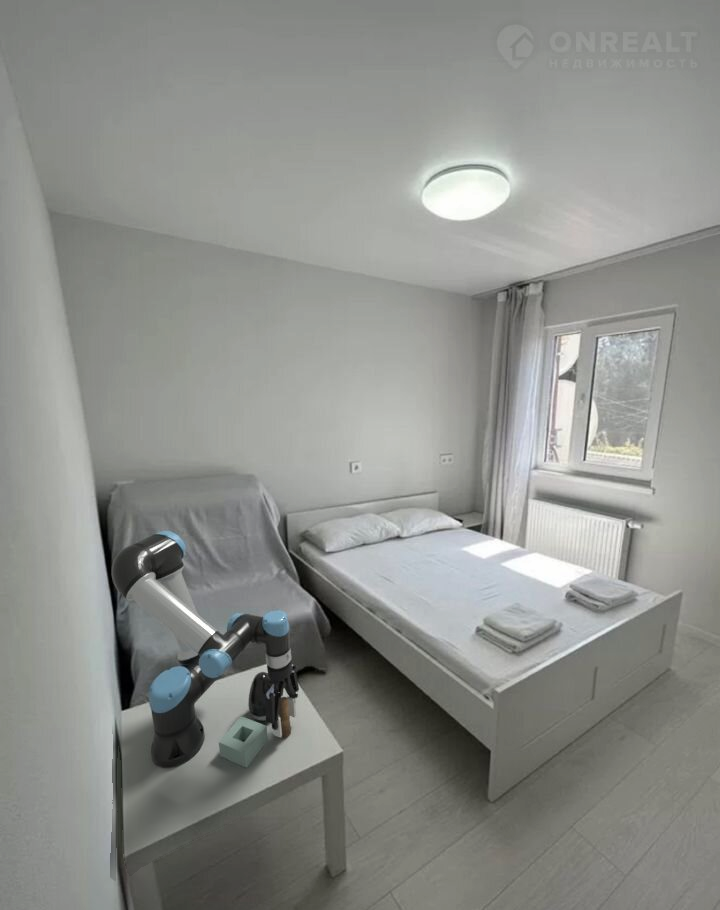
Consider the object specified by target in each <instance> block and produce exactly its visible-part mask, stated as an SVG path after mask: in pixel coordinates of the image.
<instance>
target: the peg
mask: <svg viewBox="0 0 720 910" xmlns="http://www.w3.org/2000/svg"><path fill="white" fill-rule="evenodd" d="M279 717H280V719H281V729H282V737H281V738H282V739H283V738H285V739H286V738H289V737H290V736H291V734H292V730H291V729H292V728H291V720H290V719H291V718H290V717H291V716H289V705H288V698H287V696H281V702H280V710H279Z"/></svg>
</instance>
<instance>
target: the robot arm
mask: <svg viewBox="0 0 720 910" xmlns="http://www.w3.org/2000/svg"><path fill="white" fill-rule="evenodd" d="M186 547H187V546H186V544H185V542H184V541H183V539H182V538H181V537H180V536H179V535H178V534H176V533H174V532H172V531H169V530H162V531H159V532H157V533H153V534H151V535H149V536H147V537H145V538H142V539H141V540H139V541H137V542H135V543H132V544H131V545H128V546H126V547H124V548H123V549H121V550H120V551H119V552H118V553H117V555H116V556H115V558H114V560H113V562H112V565H111V578H112V582H113V584H114V586H115V589H116V590H117V592H118V593H119V594H120V595H121V596H122V597H123V598H125V599H126V600H127V601H129V602H131V601H132V602H133V601H134V602H136V604H138V605H139V606H140V607H141V608H142V609H144V610H145V611H146V612H147V613H149V615H151V616H152V617H153V618H154V619H155V620H157V621H158V622H159V623H161V624H162V626H163V627H165V628H166V629H167V630H169V631H170V632H171V633H172V634H173V636H174V638H175V642H176V643H177V646H178V648H179V653H178V654H177V660H178V663H179V666H173V667H171V668H170V669H166V670H164V671H162V672H161V673H159V675H157V677H155V679H154V680H153V681H152V683H151V685H150V687H149V691H148V697H149V698H148V699H149V700H148V702H149V703H148V704H149V707H150V710H151V717H152V722H153V729H154V732H153V733H154V734H153V740H152V742H151V747H150V753H151V759H152V762H153V763H154V764H155V765H156V766H157V767H160V768H164V769H167V768H168V769H169V768H170V769H171V768H174V767H178V766H181V765H182V764H185V763H186V762H188V761H189V760H190V759H192V758H193V757H194V756H195V755H197V754H198V752H199V751H201V750H200V749H201V748H202V746H203V745H204V742H205V736H206V735H205V728H204V725H203V723H202V722H201V720H200V719H199V717H198V716H197V714H196V707H195V704H196V702H198V701H199V699H200V698H201V697H202V696H203V695H204V694H205V693H206V692H207V691H208V690H209V689H210V688H211V686H212V685H214V683H215V682H216V681H218V680H219V678H220V677H221V676H222V674H224V672H226V671H227V670H228V669H229V668H231V666H232V664H233V663H234V662H235V660H237V659H238V658H239V656H240V655H241V654H242V653H243V652H244V651H245V650H246V649H247V648H248V647H249V645H250V644H252V643H254V644H258V645H264V649H265V659H266V660H265V662H266V669H267V673H268V676H269V678H270V680H271V684H270V687H271V688H270V689H269V691H265V693H264V695H265V698H266V720H265V722H267V723H269V724H271V729H272V733H273V734H272V735H273V736H276V737H278V738H283V737H282V729H281V719H280V717H279V710H280V702H281V697H284V696H283V695H284V691H285V692H286V694H287V696H286V697H287V698H288V705H289V716H290V717H293V718H296V717H297V712H296V711H297V710H296V699H298V697H299V694H298V693H299V690H300V687H299V686H300V685H299V682H298V681H299V680H298V676H297V665H296V664H293V660H292V650H291V641H290V640H291V637H290V623H289V618H288V614H286V613H285V612H284V611H283V610H271V611H269V612H267V613H265V614H264V615H263V616H260V615H254V614H250V613H241V612H238V613H237V612H236V613H234V614H233V615H232V616H231V617H230V619H229V620H228V622H227V625H226V632H225V633H224V634H222V633H221V632H220V631H218V630H217V629H216V628H215V627H214V626H212V625H211V624H210V623H209V622H207V621H206V620H205V619H204V618H203V617H202V616H200V615H199V614H198V612H197V609H196V607H195V604H194V602H193V598H192V596H191V593H190V591H189V589H188V585H187V583H186V581H185V578H184V576H183V574H182V573H183V570H184V567H185V565H184V562H183V559H184V558H185V556H186V552H187V548H186ZM297 692H298V693H297Z"/></svg>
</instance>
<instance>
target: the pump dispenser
mask: <svg viewBox="0 0 720 910" xmlns="http://www.w3.org/2000/svg"><path fill="white" fill-rule="evenodd" d="M252 679H253V680H252V682H251V684H250V689H249V694H248V705H247V707H248V711H249V714H250V715H251V716H252V717H253V718H254V719H256V720H257V721H266V698H265V695H264V693H265V691H269V689H270V688H271V687H270V684H271V680H270V678H269V676H268V672H265V671H260V672H258V673H257V674H256V675H255V676H254V677H253V678H252Z"/></svg>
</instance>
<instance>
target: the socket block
mask: <svg viewBox="0 0 720 910" xmlns="http://www.w3.org/2000/svg"><path fill="white" fill-rule="evenodd" d="M268 740H269V737H268V728H267V725H265V724H263V723H260V722H257V721H255V720H252V719H249V718H247V717H244V716H240V717H239V718H238V719H237V720H236V721H235V723H234V724H233V725H232V726H231V727H230V728H229V730H228V731H227V732H226V733H225V734H224V735H223V736H222V737H221V739H220V740H219V741H218V746H219V747H218V748H219V756H220V757H221V758H223V759H226V760H229V761H230V762H233V763H235V764H237V765H240V766H242V767H244V768H247V769H248V768H249V766H250V765H251V763H252V762H253V761H254V759H255V757H256V756H257V755H258V753H259V752H260V750H262V748H263V747H264V746H265V744H266V743H267V741H268Z"/></svg>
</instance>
